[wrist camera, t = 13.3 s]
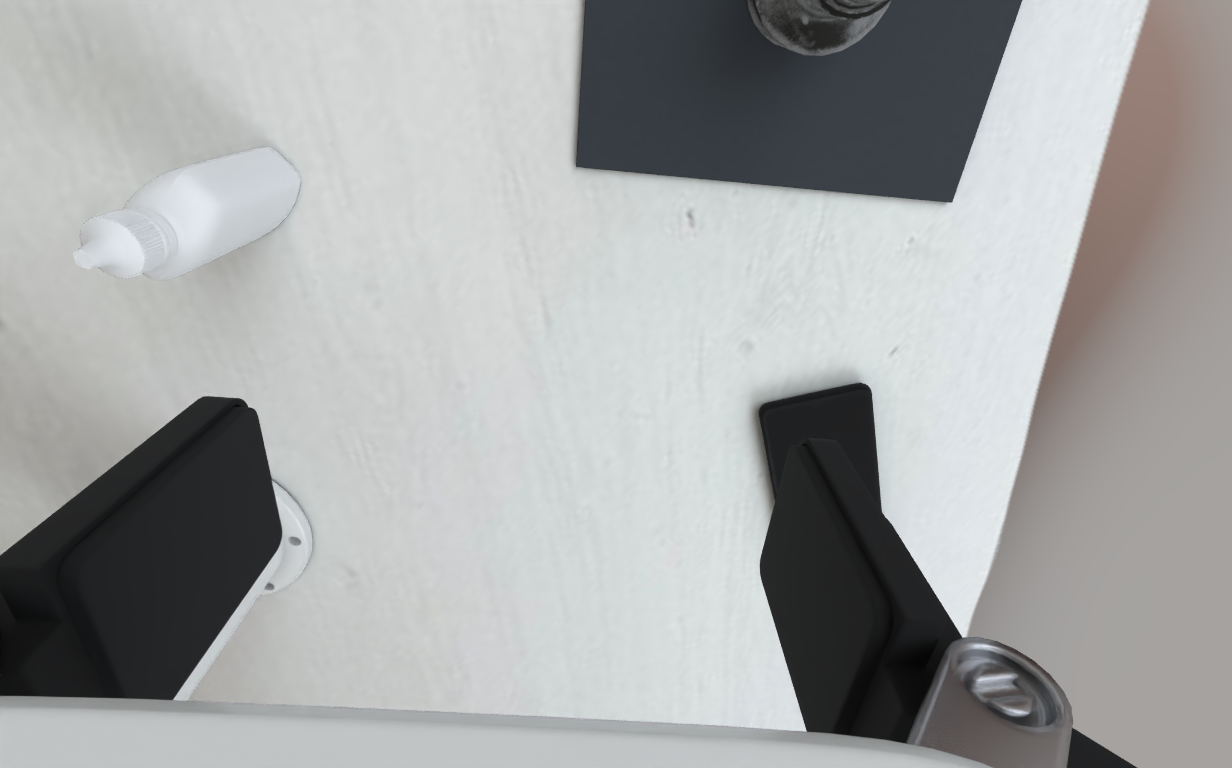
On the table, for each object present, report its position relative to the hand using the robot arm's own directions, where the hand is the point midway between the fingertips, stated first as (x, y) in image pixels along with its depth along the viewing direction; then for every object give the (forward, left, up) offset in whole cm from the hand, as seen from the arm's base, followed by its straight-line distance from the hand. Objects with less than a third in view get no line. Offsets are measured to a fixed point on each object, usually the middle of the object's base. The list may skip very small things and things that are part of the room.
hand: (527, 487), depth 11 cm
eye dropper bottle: (-18, -1, -25) cm, 31 cm away
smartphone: (+17, -17, -25) cm, 35 cm away
